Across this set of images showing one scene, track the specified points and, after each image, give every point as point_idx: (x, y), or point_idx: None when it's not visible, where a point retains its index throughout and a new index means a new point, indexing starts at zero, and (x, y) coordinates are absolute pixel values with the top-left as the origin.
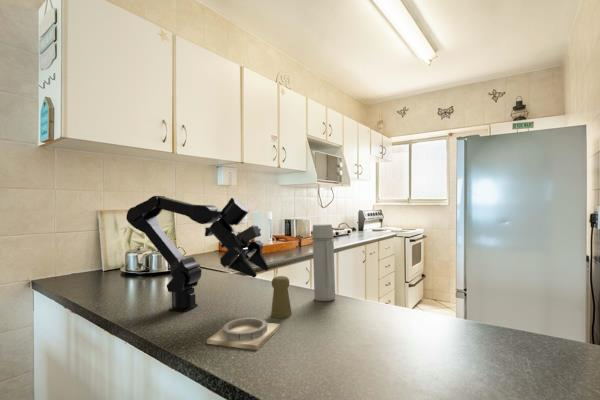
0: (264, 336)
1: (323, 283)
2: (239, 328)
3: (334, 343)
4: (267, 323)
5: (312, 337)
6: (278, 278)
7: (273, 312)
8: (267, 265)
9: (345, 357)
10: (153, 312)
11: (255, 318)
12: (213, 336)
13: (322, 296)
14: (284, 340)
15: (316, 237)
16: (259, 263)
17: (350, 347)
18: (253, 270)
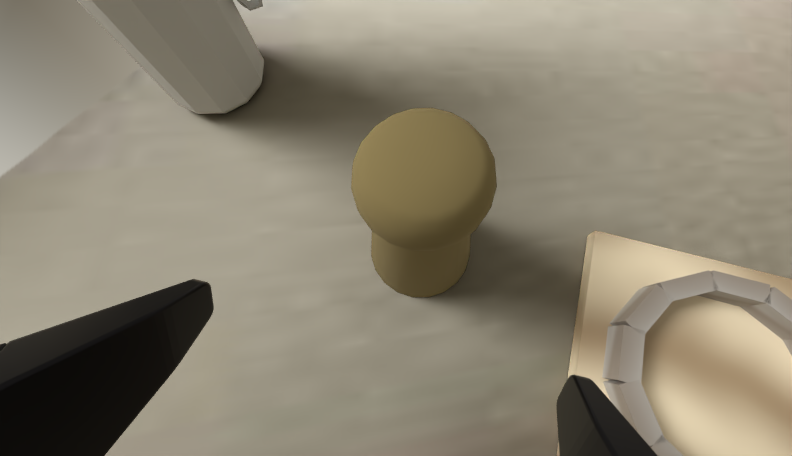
0: (750, 278)
1: (224, 10)
2: (686, 425)
3: (692, 54)
4: (596, 288)
5: (658, 115)
6: (469, 168)
7: (456, 276)
8: (153, 292)
9: (781, 31)
10: None
11: (633, 346)
12: None
13: (254, 70)
14: (708, 205)
15: None
16: (89, 425)
17: (709, 17)
18: (622, 433)
